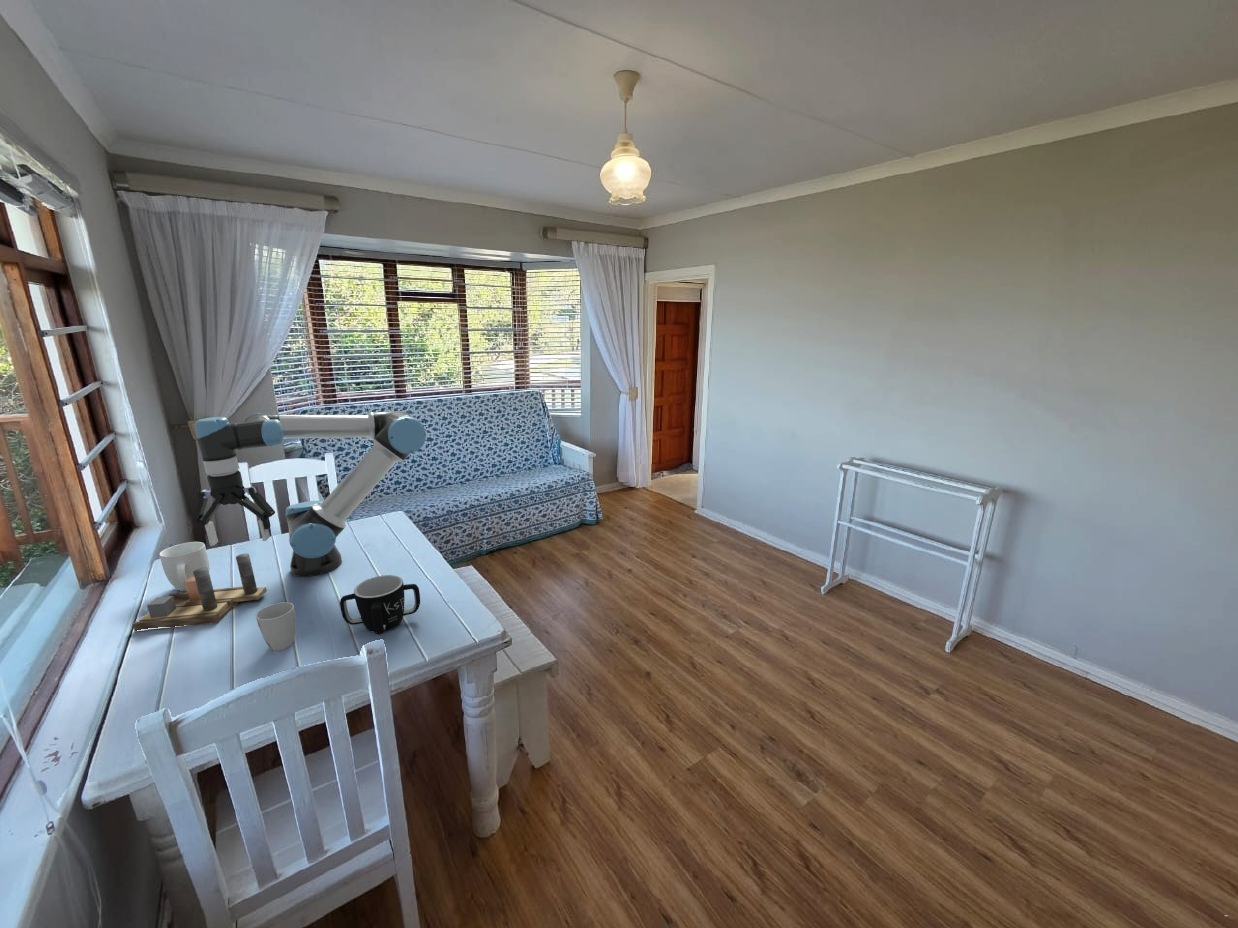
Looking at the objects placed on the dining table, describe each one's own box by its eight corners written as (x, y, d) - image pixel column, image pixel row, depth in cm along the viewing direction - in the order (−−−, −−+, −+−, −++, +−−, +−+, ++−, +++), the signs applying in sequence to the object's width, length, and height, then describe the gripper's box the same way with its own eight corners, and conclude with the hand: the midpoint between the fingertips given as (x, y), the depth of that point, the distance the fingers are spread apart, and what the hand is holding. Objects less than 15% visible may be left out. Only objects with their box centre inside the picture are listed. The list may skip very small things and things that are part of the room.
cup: (275, 635, 133) (267, 602, 130) (306, 634, 134) (300, 601, 131) (256, 655, 125) (248, 620, 123) (290, 653, 126) (282, 618, 123)
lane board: (246, 593, 154) (244, 586, 154) (218, 622, 139) (216, 614, 139) (172, 601, 150) (170, 593, 150) (134, 631, 135) (132, 623, 135)
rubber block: (176, 608, 142) (173, 595, 141) (167, 616, 138) (163, 603, 137) (160, 610, 141) (156, 597, 140) (150, 617, 137) (146, 605, 136)
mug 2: (374, 649, 127) (367, 607, 124) (339, 629, 136) (332, 590, 132) (428, 618, 141) (423, 580, 137) (393, 602, 149) (388, 566, 146)
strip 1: (228, 606, 145) (217, 564, 142) (218, 615, 141) (207, 573, 137) (152, 614, 142) (139, 572, 138) (140, 624, 137) (126, 580, 133)
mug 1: (211, 593, 154) (201, 555, 151) (164, 604, 149) (152, 565, 145) (215, 574, 166) (206, 538, 163) (172, 583, 161) (162, 546, 157)
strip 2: (266, 590, 154) (257, 551, 150) (259, 599, 149) (249, 558, 145) (196, 597, 150) (185, 557, 146) (186, 606, 145) (174, 565, 142)
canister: (213, 592, 150) (209, 574, 149) (204, 600, 146) (199, 582, 144) (195, 594, 150) (190, 576, 148) (185, 602, 145) (180, 583, 143)
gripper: (278, 465, 146) (292, 532, 152) (180, 472, 141) (199, 540, 147) (266, 472, 139) (282, 542, 145) (163, 479, 134) (184, 551, 140)
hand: (240, 541), depth 146 cm, fingers open, 13 cm apart
